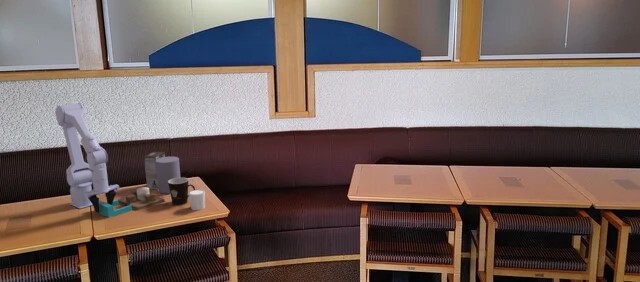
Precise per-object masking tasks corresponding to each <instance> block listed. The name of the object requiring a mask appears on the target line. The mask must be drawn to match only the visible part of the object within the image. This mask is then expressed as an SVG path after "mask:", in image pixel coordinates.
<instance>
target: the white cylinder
mask: <svg viewBox="0 0 640 282" xmlns="http://www.w3.org/2000/svg"><path fill="white" fill-rule="evenodd" d="M188 195H189V197H188V199H189V203H190V209H191V210H192V211H202V210H203V209H205V207H206V190H204V189H195V190H194V189H193V190H190V191H188Z"/></svg>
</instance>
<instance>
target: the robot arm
mask: <svg viewBox="0 0 640 282" xmlns="http://www.w3.org/2000/svg"><path fill="white" fill-rule="evenodd" d="M54 112H55V113H54V114H55V116H56V120H57V124H58V126H59V127H62V131H63V135H64V139H65V143H66V147H67V150H68V156H69V159H70V163H71V164H70V165H69V166H68V168H67V169H66V181H67V184H68V185H69V186H70V189H69V193H70V199H71V202H70V203H69V205H70V206H74V207H76V208H77V209H80V210H81V209H84V208H86V207H90V206H93V210H94V209H95V211H94V212H95V213H97V214H100V213H99V212H100V210H99V200H100V197H98V196H99V195H102V194H105V198H106V203H108V204H110V205H113V201H114V200H115V197H116V196H117V191H118V190H120V185H119V184H110V185H109V180H108V179H109V178H108V173H107V163H108V162H109V155H108V153H107V151H106V150H105V149H104V148H103V146H101V145H100V144H99V142H98V140H97V138H96V136H95V135H94V134H91V132H90V130H89V128H88V126H87V122H86V120H85V116H86V112H85V107H84V105H83V104H82V103H81V102H77V103H70V104H64V105H57V106H56V108H55V111H54ZM78 134H79V136H80V137H81V139H79V136H78ZM81 145H82V147H83V148H84V149H83V150H84V151H85V154H86V160H87V161H86V162H85V159H84V157H83V152H82V151H83V150H82V148H81ZM92 187H93V189H92Z"/></svg>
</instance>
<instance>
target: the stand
mask: <svg viewBox="0 0 640 282" xmlns="http://www.w3.org/2000/svg"><path fill="white" fill-rule="evenodd" d="M117 200H118V202H119V204H121V205H124V206H125V207H126V206H129V205H131V206H132V210H136V211H140V210H143V209H146V208H149V207H153V206H155V205H158V204H161V203H164V202H165V199H164V198H162V197H159V196H156V194H155V193H150V189H149V188H148V187H147V186H145V187H143V186H142V187H138V188H136V189H132V190H131V194H130V195H129V194H128V195H126V196H125V197H122V198H118V199H117Z"/></svg>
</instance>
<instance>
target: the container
mask: <svg viewBox="0 0 640 282" xmlns="http://www.w3.org/2000/svg"><path fill="white" fill-rule="evenodd" d="M156 170H157V180H158V189H157V191H158V193H160V194H163V193H165V194H168V195H169V194H170V189H169V185H168V181H169V180H171V179H174V178H181V169H180V158H179V157H178V156H165V157H162V158H158V159H156ZM165 194H164V195H165ZM170 195H171V194H170Z"/></svg>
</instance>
